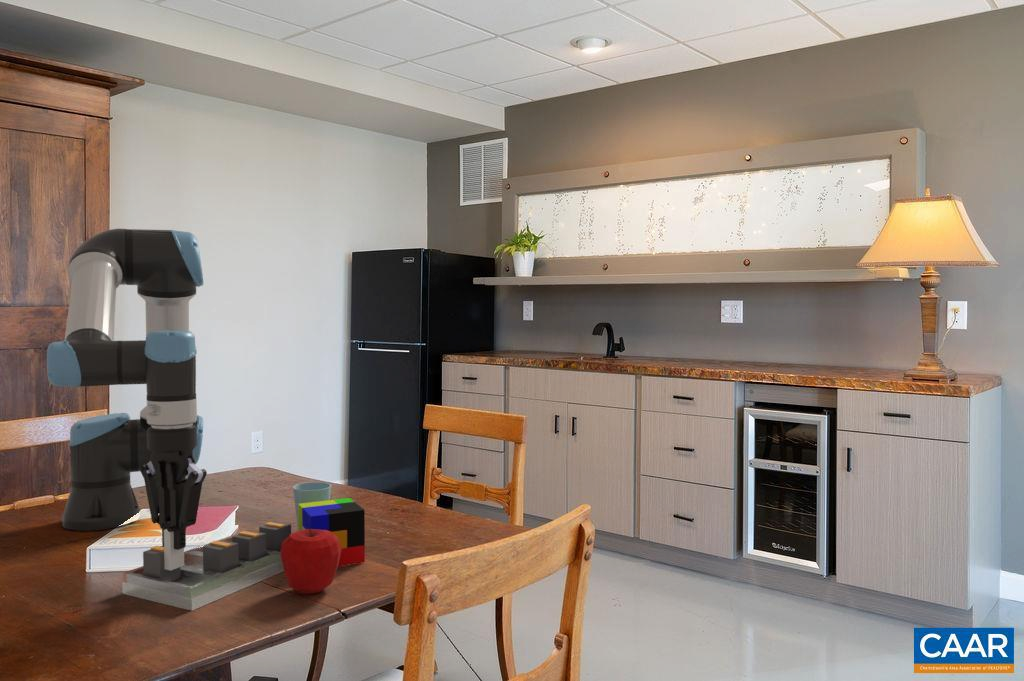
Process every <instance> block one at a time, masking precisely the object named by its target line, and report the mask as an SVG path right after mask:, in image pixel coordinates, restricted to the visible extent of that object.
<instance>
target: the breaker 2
mask: <svg viewBox="0 0 1024 681" xmlns="http://www.w3.org/2000/svg"><path fill="white" fill-rule="evenodd" d="M219 540H220V539H219ZM209 543H210V544H209ZM209 543H208V544H209V545H206V544H205V545H206V546H203V545H202V546H203V569H204V570H209V571H214V572H219V573H225V572H227V571H230V570H232V569H235V568H237V567H239V554H238V543H234V542H228V541H223V540H220V541H217V540H214V541H211V542H209Z"/></svg>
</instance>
